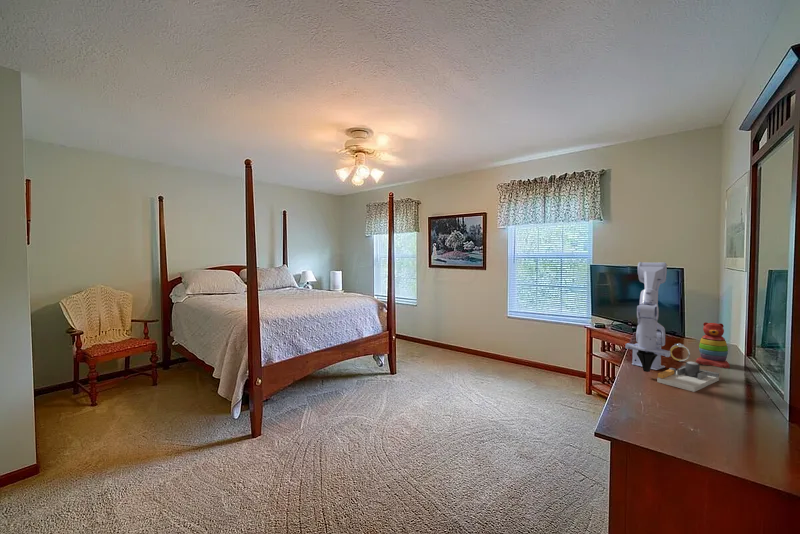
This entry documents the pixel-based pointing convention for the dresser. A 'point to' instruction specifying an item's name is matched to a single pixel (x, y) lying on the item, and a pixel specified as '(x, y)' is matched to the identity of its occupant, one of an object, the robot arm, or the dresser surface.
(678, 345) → the ring
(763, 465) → the dresser surface
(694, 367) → the plug
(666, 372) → the orange-brown long box
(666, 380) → the white tray
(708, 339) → the stacking bear
